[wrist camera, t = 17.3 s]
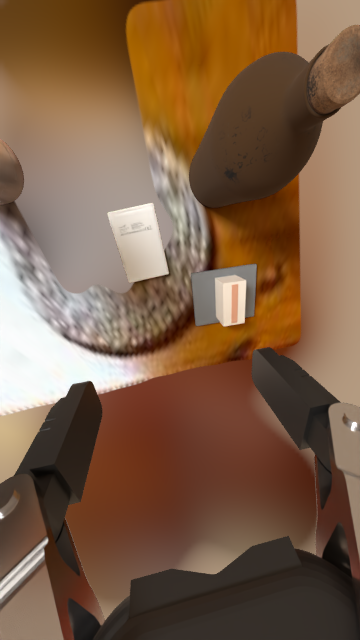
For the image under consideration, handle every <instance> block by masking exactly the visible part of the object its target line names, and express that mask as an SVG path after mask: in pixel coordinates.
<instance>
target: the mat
mask: <svg viewBox="0 0 360 640" xmlns="http://www.w3.org/2000/svg"><path fill="white" fill-rule="evenodd" d="M256 269H257V264H250V265H243V266H237V267H230V268H223V269H217V270H210V271H204V272H197V273H191V282H192V292H193V303H194V314H195V324H196V326H201V325H206V324H212V323H218V322H220V321H219V320H218V319H217V317H216V300H215V278H217V277H224V276H231V275H237V276H239V277H241V278H243V279H245V280H246V300H245V318H246V317H252V316H254V308H255V288H256Z"/></svg>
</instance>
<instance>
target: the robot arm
mask: <svg viewBox="0 0 360 640" xmlns="http://www.w3.org/2000/svg"><path fill="white" fill-rule="evenodd" d="M23 185H24V176H23V171H22V168H21V165H20V163H19V160H18V158H17V157H16V155H15V154H14V152H13V151H12V150H11V148H10V147H9V146H8V145H7V144H6V143H5V142H4V141H3V140H1V139H0V204H8V203H11V202H13V201H14V200H16V199H17V198H18V197H19V195H20V194H21V192H22V189H23ZM252 379H253V382H254V384H255V386H256V388H257V389H258V390H259V392H260V393H261V395H262V396H263V397H264V399H265V400H266V402H267V403H268V405H269V406H270V407H271V409H272V411H273V412H274V413H275V415H276V416H277V418H278V419H279V421H280V422H281V423H282V425H283V426H284V428H285V429H286V431H287V432H288V433H289V435H290V436H291V438H292V439H293V441H294V442H295V444H296V445H297V446H298V448H299V449H300V450H302V449H305V448H311V449H312V450H313V452H314V453H315V456H314V465H315V482H316V497H317V498H316V499H317V525H316V536H315V546H316V555H314V554H312V553H310V552H307V551H303V550H300V549H295V548H294V547H293V545H292V543H291V541H290V538H289V536H287V537H283V538H280V539H276V540H272V541H269V542H265V543H262V544H258V545H255V546H252V547H250V548H249V549H248V550H247V551H245V552H244V553H243V554H242V555H240V556H239V557H238V558H237V559H235V560H234V561H233V562H232V563H230V564H229V565H228V566H227V567H225V568H224V569H223V570H222V571H220V572H219V573H217V574H205V573H197V572H191V571H183V570H176V569H169V570H166V571H162V572H159V573H155V574H151V575H148V576H144V577H141V578H137V579H134V580H131V589H130V596H128V597H127V598H126V599H124V601H122V602H121V603H120V604H119V605H118V606H117V607H116V608H115V609H114V611H113V612H112V613H111V614H110V615H109V617H108V618H107V619H106V620H105V618H104V615H103V612H102V610H101V607H100V605H99V602H98V600H97V598H96V595H95V594H94V592H93V590H92V588H91V586H90V584H89V582H88V580H87V578H86V576H85V573H84V570H83V567H82V564H81V562H80V559H79V556H78V553H77V550H76V547H75V544H74V541H73V538H72V535H71V533H70V530H69V527H68V524H67V521H66V519H65V515H66V511H67V508H68V505H70V504H74V503H78V502H81V498H82V494H83V490H84V486H85V482H86V478H87V474H88V470H89V466H90V462H91V458H92V454H93V450H94V446H95V442H96V438H97V434H98V430H99V426H100V423H101V419H102V405H101V402H100V400H99V397H98V395H97V392H96V390H95V388H94V385H93V383H92V382H91V381H87V382H82V383H77V384H73V385H72V386H71V387H70V389H69V391H68V393H67V395H66V397H64V398H61V399H60V400H59V401H58V402H57V403H56V404H55V405H54V406H53V407H52V408H51V410H50V412H49V413H48V415H47V417H46V419H45V422H44V423H43V424H42V427H41V428H40V432H38V434H37V435H36V437H35V439H34V441H33V442H32V444H31V446H30V448H29V450H28V452H27V453H26V455H25V457H24V459H23V461H22V462H21V464H20V466H19V468H18V470H17V471H16V473H15V475H14V476H13V477H11V478H9V479H7V480H5V481H4V482H2V483H1V484H0V640H360V407H358V406H356V405H353V404H348V403H341V402H340V401H338V400H337V399H336V398H335V397H334V396H333V395H332V394H330V393H329V392H328V391H327V390H326V389H325V388H324V387H323V386H321V385H320V384H319V383H318V382H317V381H316V380H315V379H314V378H313V377H311V376H309V374H308V373H307V372H306V371H305V370H302V368H301V367H300V366H299V365H298V364H297V363H295V362H294V361H293V360H291V359H289V358H287V357H285V356H282V355H281V356H279V355H278V354H277V353H276V352H275V351H274V350H273V349H272V348H270V347H267V348H262V349H257V350H254V351H253V359H252Z"/></svg>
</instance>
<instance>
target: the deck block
mask: <svg viewBox="0 0 360 640" xmlns="http://www.w3.org/2000/svg"><path fill="white" fill-rule="evenodd" d="M215 300H216V317H217V319H218V320H219V321H220V323H221V324H222V325H223V326H229V325H235V324H241V323H245V300H246V280H245V279H243V278H241V277H239V276H237V275H231V276H224V277H217V278H215Z"/></svg>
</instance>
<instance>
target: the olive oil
mask: <svg viewBox="0 0 360 640" xmlns="http://www.w3.org/2000/svg"><path fill="white" fill-rule="evenodd" d="M359 93H360V25H353V26H350V27H348V28H346V29H345V30H343V31H342V32H341V33H340V34H339V35H338V36H337V37H336V38H335V39H334V40H333V41H332V42H331V43H330V44H329V45H327V46H326V47H324V48H323V49H321V50H320V51H319V52H318V53H317V55H316V56H315V57H314V58H313V59H312V60H311V61H310V62H309V63H308V62H307V61H306V60H305V59H304V58H302V57H300V56H299V55H296V54H293V53H289V52H277V53H272V54H269V55H266V56H264V57H262V58H260V59H258V60H256V61H255V62H253V63H252V64H250V65H249V66H248V67H246V68H245V69H244V70H243V71H242V72H241V73H239V74H238V75H237V77H236V78H235V79H234V80H233V81H232V82H231V84H230V85H229V86H228V88H227V89H226V91H225V92H224V94H223V96H222V98H221V100H220V102H219V104H218V106H217V108H216V110H215V113H214V115H213V117H212V120H211V122H210V124H209V126H208V129H207V131H206V133H205V135H204V137H203V140H202V142H201V144H200V146H199V148H198V150H197V152H196V154H195V156H194V158H193V160H192V163H191V166H190V172H189V181H190V186H191V190H192V192H193V194H194V196H195V197H196V199H197V200H198V201H199V202H200V203H202V204H203V205H205V206H207V207H211V208H217V207H222V206H226V205H230V204H235V203H240V202H245V201H251V200H257V199H261V198H265V197H268V196H270V195H272V194H274V193H276V192H278V191H279V190H281V189H282V188H283V187H285V186H286V185H287V184H288V183H289V182H291V181H292V180H293V179H294V178H295V177H296V176H297V175H298V173H299V172H300V171H301V170H302V169H303V167H304V166H305V165H306V163H307V162H308V160H309V158H310V157H311V155H312V153H313V151H314V149H315V147H316V144H317V142H318V139H319V136H320V132H321V128H322V123H323V121H324V120H325V119H327V118H329V117H331V116H332V115H334V114H335V113H336V112H338V111H339V109H340V108H341V107H342V106H344V105H346V104H347V103H349V102H350V101H352V100H353V99H354V98H355V97H356V96H357V95H358V94H359Z"/></svg>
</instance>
